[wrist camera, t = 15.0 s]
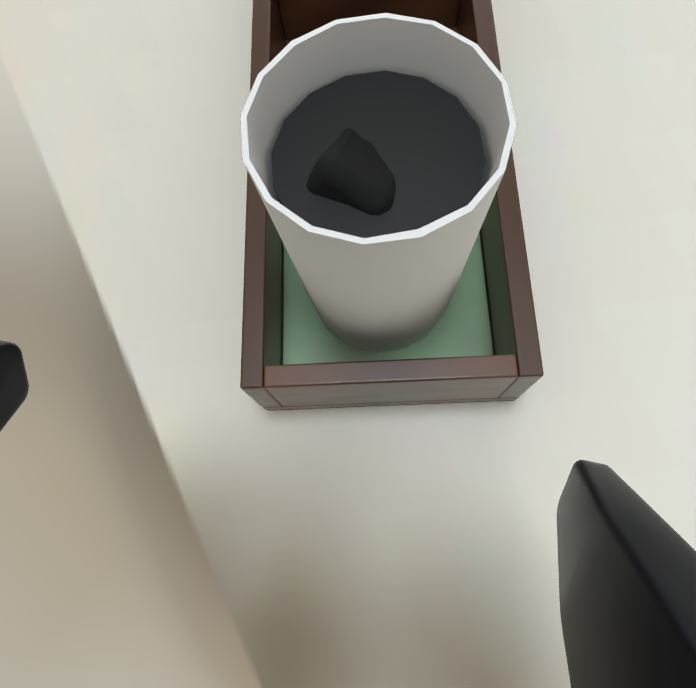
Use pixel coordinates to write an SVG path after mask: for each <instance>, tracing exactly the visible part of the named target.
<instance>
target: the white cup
mask: <svg viewBox="0 0 696 688" xmlns="http://www.w3.org/2000/svg"><path fill="white" fill-rule="evenodd" d="M516 126H517V123H516V119H515V114H514V110H513V106H512V102H511V98H510V93H509V89H508V85H507V81H506V79H505V78H504V77H503V75H502V74H501V73H500V72H499V70H498V69H497V68H496V67H495V65H494V64H493V63H492V62H491V61H490V59H489V58H488V57H487V56H486V54H485V53H484V52H483V51H482V49H481V48H480V47H479V46H478V45H477V44H476V43H474V42H472V41H470V40H469V39H467V38H465V37H463V36H461V35H459V34H458V33H456V32H454V31H452V30H450V29H449V28H447V27H445V26H443V25H441V24H439V23H438V22H436V21H432V20H426V19H420V18H414V17H408V16H402V15H396V14H390V13H380V14H373V15H366V16H359V17H352V18H345V19H337V20H334V21H332V22H330V23H328V24H326V25H324V26H322V27H320V28H317V29H315V30H313V31H311V32H309V33H307V34H305V35H303V36H301V37H299V38H297V39H294V40H292V41H291V42H290V43H289V44H288V45H287V46H286V47H285V48H284V49H283V50H282V51H281V52H280V53H279V54H278V55H277V56H276V57H275V58H274V59H273V60H272V61H271V62H270V63H269V64H268V65H267V66H266V67H265V68H264V69H263V70H262V71H261V72H260V73H259V74H258V75H257V78H256V80H255V82H254V85H253V87H252V90H251V92H250V94H249V97H248V99H247V101H246V104H245V106H244V109H243V111H242V113H241V137H242V158H243V162H244V164H245V166H246V168H247V170H248V172H249V174H250V176H251V178H252V180H253V182H254V184H255V186H256V188H257V191H258V193H259V195H260V197H261V199H262V201H263V203H264V205H265V207H266V209H267V211H268V213H269V215H270V217H271V219H272V221H273V223H274V225H275V227H276V229H277V231H278V233H279V235H280V237H281V239H282V241H283V243H284V245H285V247H286V249H287V252H288V254H289V256H290V258H291V260H292V262H293V264H294V266H295V268H296V270H297V272H298V274H299V276H300V278H301V280H302V282H303V284H304V286H305V288H306V290H307V292H308V294H309V296H310V298H311V300H312V302H313V304H314V307H315V309H316V310H317V312H318V314H319V316H320V317H321V319H322V321H323V323H324V325H325V326H326V328H327V329H328V330H329V331H330V332H332V333H333V334H334V335H336V336H337V337H338V338H340V339H341V340H342V341H344V342H345V343H346V344H347V345H350V346H354V347H358V348H361V349H365V350H369V351H372V352H380V351H389V350H398V349H404V348H405V347H407V346H409V345H411V344H413V343H415V342H417V341H418V340H420V339H422V338H424V337H426V336H427V335H428V334H429V333H430V332H431V330H432V329H433V328H434V327H435V325H436V324H437V323H438V322H439V320H440V319H441V318H442V317H443V316H444V313H445V311H446V309H447V306H448V304H449V301H450V299H451V297H452V294H453V292H454V290H455V287H456V285H457V283H458V280H459V278H460V276H461V273H462V271H463V269H464V266H465V264H466V262H467V259H468V257H469V254H470V252H471V250H472V247H473V245H474V243H475V240H476V238H477V236H478V233H479V231H480V229H481V226H482V224H483V222H484V219H485V217H486V215H487V212H488V210H489V208H490V205H491V203H492V200H493V198H494V196H495V193H496V191H497V189H498V186H499V184H500V182H501V179H502V177H503V175H504V172H505V169H506V165H507V162H508V158H509V154H510V150H511V146H512V142H513V138H514V134H515V130H516Z"/></svg>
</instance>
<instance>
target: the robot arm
mask: <svg viewBox="0 0 696 688" xmlns="http://www.w3.org/2000/svg"><path fill="white" fill-rule="evenodd" d="M28 388H29V384H28V379H27V374H26V370H25V365H24V361H23V357H22V352H21V350H20V348H19V347H18V346H17V345H16V344H14V343H11V342H6V341H1V340H0V431H1V430H2V429H3V427H4V426H5V425H6V424H7V422H8V421H9V420H10V418H11V417H12V416H13V414H14V413H15V412H16V410H17V409H18V408H19V407H20V405H21V404H22V403H23V402H24V400H25V398H26V396H27V394H28ZM557 536H558V565H559V594H560V613H561V622H562V630H563V637H564V643H565V650H566V656H567V663H568V670H569V676H570V683H571V688H696V551H695V550H694V549H693V548H692V547H691V546H690V545H689V544H688V543H687V542H686V541H685V540H684V539H683V538H682V537H681V536H680V535H679V534H678V533H677V532H676V531H675V530H674V529H673V528H672V527H671V526H669V525H668V524H667V523H666V522H665V521H664V520H663V519H662V518H661V517H660V516H659V515H658V514H657V513H656V512H655V511H654V510H653V509H652V508H651V507H650V506H649V505H648V504H647V503H646V502H645V501H644V500H643V499H642V498H641V497H640V496H639V495H638V494H637V493H636V492H635V491H634V490H633V489H631V488H630V487H629V486H628V485H627V484H626V483H625V482H624V481H623V480H622V479H621V478H620V477H619V476H618V475H617V474H616V473H615V472H614V471H613V470H612V469H611V468H610V467H608V466H607V465H605V464H600V463H595V462H590V461H585V460H579V461H577V462H576V463H575V464H574V465H573V467H572V470H571V472H570V475H569V477H568V480H567V482H566V485H565V487H564V490H563V492H562V495H561V497H560V500H559V503H558V509H557Z"/></svg>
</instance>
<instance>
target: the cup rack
mask: <svg viewBox="0 0 696 688" xmlns="http://www.w3.org/2000/svg"><path fill="white" fill-rule="evenodd" d="M380 13H390V14H396V15H402V16H408V17H414V18H420V19H426V20H432V21H436V22H438V23H439V24H441V25H443V26H445V27H447V28H449V29H450V30H452V31H454V32H456V33H458V34H459V35H461V36H463V37H465V38H467V39H469V40H470V41H472V42H474V43H476V44H477V45H478V46H479V47H480V48H481V49H482V51H483V52H484V53H485V54H486V56H487V57H488V58H489V59H490V61H491V62H492V63H493V64H494V65H495V67H496V68H497V69H498V70H499V72H500V73H501V68H500V61H499V54H498V46H497V39H496V32H495V25H494V18H493V11H492V4H491V0H253V18H252V48H251V79H250V92H251V90H252V87H253V85H254V82H255V80H256V78H257V75H258V74H259V73H260V72H261V71H262V70H263V69H264V68H265V67H266V66H267V65H268V64H269V63H270V62H271V61H272V60H273V59H274V58H275V57H276V56H277V55H278V54H279V53H280V52H281V51H282V50H283V49H284V48H285V47H286V46H287V45H288V44H289V43H290V42H291V41H292V40H294V39H297V38H299V37H301V36H303V35H305V34H307V33H309V32H311V31H313V30H315V29H317V28H320V27H322V26H324V25H326V24H328V23H330V22H332V21H334V20H337V19H345V18H352V17H359V16H366V15H373V14H380ZM542 376H543V367H542V360H541V353H540V346H539V338H538V331H537V324H536V317H535V310H534V303H533V296H532V289H531V281H530V274H529V267H528V260H527V253H526V246H525V239H524V232H523V224H522V217H521V210H520V203H519V196H518V189H517V182H516V175H515V167H514V160H513V153H512V146H511V150H510V154H509V158H508V162H507V165H506V169H505V172H504V175H503V177H502V179H501V182H500V184H499V186H498V189H497V191H496V193H495V196H494V198H493V200H492V203H491V205H490V208H489V210H488V212H487V215H486V217H485V219H484V222H483V224H482V226H481V229H480V231H479V233H478V236H477V238H476V240H475V243H474V245H473V247H472V250H471V252H470V254H469V257H468V259H467V262H466V264H465V266H464V269H463V271H462V273H461V276H460V278H459V280H458V283H457V285H456V287H455V290H454V292H453V294H452V297H451V299H450V301H449V304H448V306H447V309H446V311H445V313H444V316H443V317H442V318H441V319H440V320H439V322H438V323H437V324H436V325H435V327H434V328H433V329H432V330H431V332H430V333H429V334H428V335H427V336H426V337H424V338H422V339H420V340H418V341H417V342H415V343H413V344H411V345H409V346H407V347H405V348H404V349H398V350H389V351H380V352H372V351H369V350H365V349H361V348H358V347H354V346H350V345H347V344H346V343H345V342H344V341H342V340H341V339H340V338H338V337H337V336H336V335H334V334H333V333H332V332H330V331H329V330H328V329H327V328H326V326H325V325H324V323H323V321H322V319H321V317H320V316H319V314H318V312H317V310H316V309H315V307H314V304H313V302H312V300H311V298H310V296H309V294H308V292H307V290H306V288H305V286H304V284H303V282H302V280H301V278H300V276H299V274H298V272H297V270H296V268H295V266H294V264H293V262H292V260H291V258H290V256H289V254H288V252H287V249H286V247H285V245H284V243H283V241H282V239H281V237H280V235H279V233H278V231H277V229H276V227H275V225H274V223H273V221H272V219H271V217H270V215H269V213H268V211H267V209H266V207H265V205H264V203H263V201H262V199H261V197H260V195H259V193H258V191H257V188H256V186H255V184H254V182H253V180H252V178H251V176H250V174H249V172H248V170H247V201H246V231H245V261H244V292H243V322H242V353H241V383H240V387H241V389H242V390H243V391H245V392H246V393H247V394H248V395H249V396H251V397H252V398H253V399H254V400H255V401H256V402H258V403H259V404H260V405H261V406H262V407H263V408H264V409H266V410H283V409H307V408H332V407H357V406H382V405H407V404H431V403H456V402H481V401H506V400H516V399H517V398H518V397H519V396H520V395H521V394H523V393H524V392H525V391H526V390H527V389H528V388H529V387H531V386H532V385H533V384H534V383H535V382H536V381H537V380H539V379H540V378H541V377H542Z"/></svg>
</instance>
